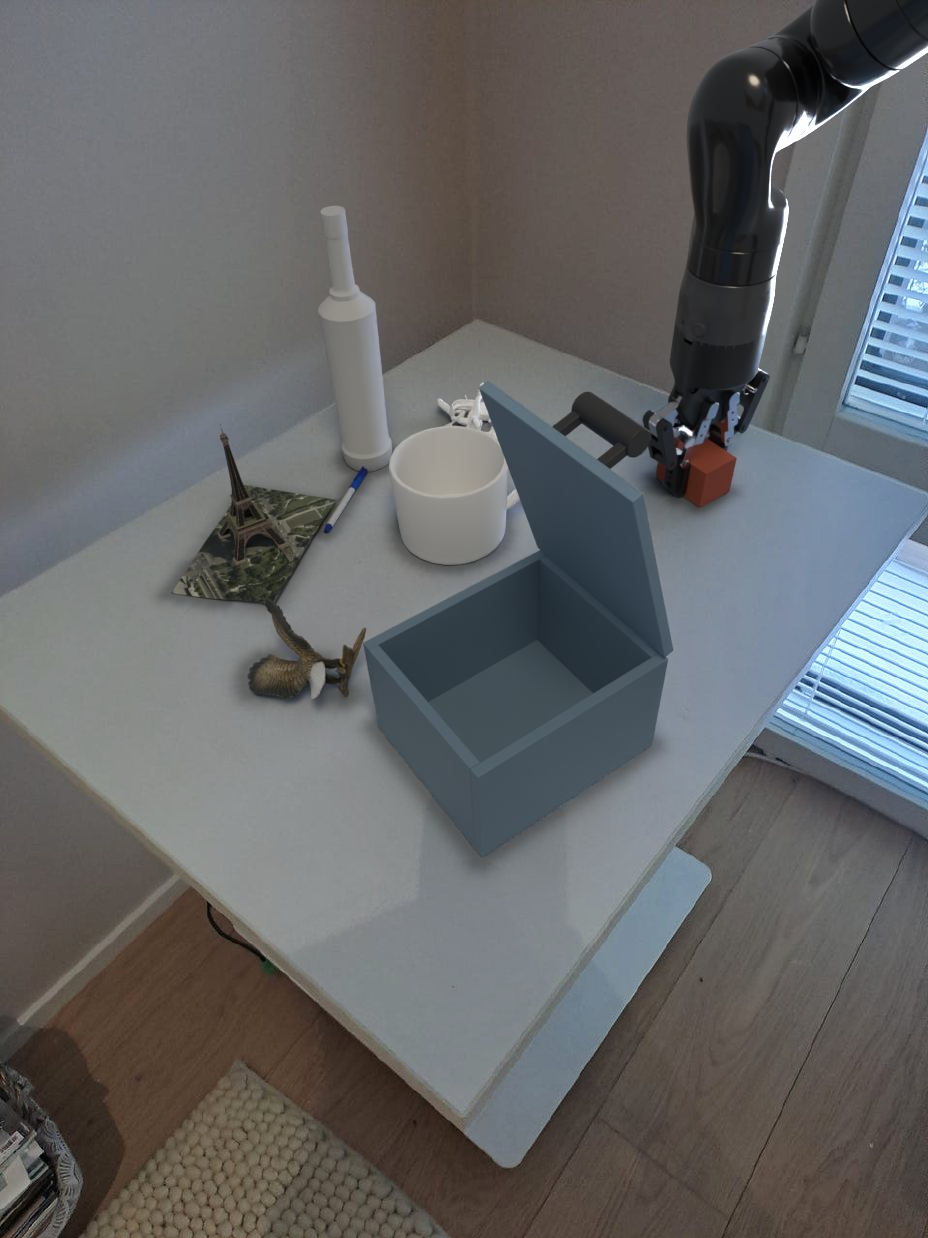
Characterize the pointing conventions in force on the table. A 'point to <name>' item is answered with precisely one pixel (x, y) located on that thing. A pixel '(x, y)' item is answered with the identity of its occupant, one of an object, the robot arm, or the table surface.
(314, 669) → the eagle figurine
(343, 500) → the ballpoint pen
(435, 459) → the mug
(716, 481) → the terracotta brick block
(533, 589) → the blue-grey box
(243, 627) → the table surface
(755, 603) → the table surface
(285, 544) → the eiffel tower figurine
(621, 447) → the box lid
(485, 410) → the figurine
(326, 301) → the bottle
